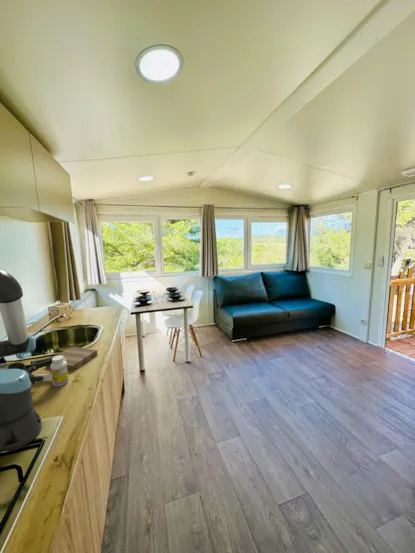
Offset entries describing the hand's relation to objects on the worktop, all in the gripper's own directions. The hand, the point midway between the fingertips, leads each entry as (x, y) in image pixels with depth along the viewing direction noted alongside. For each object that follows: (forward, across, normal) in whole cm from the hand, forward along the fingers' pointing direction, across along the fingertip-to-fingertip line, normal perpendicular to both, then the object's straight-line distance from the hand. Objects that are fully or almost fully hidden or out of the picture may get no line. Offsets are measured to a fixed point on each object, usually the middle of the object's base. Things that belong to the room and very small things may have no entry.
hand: (59, 368), depth 112 cm
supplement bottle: (0, +1, -7) cm, 7 cm away
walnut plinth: (-4, -21, -7) cm, 22 cm away
